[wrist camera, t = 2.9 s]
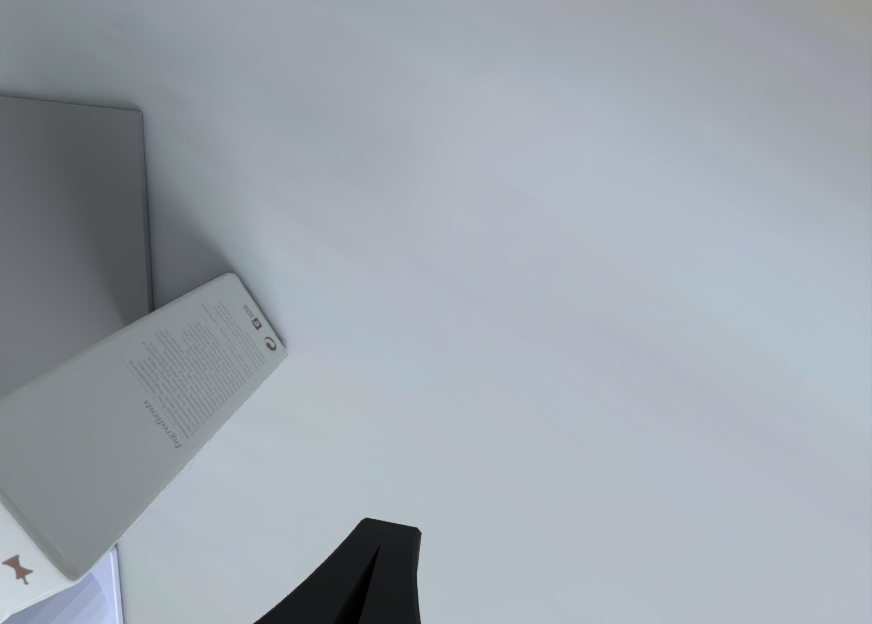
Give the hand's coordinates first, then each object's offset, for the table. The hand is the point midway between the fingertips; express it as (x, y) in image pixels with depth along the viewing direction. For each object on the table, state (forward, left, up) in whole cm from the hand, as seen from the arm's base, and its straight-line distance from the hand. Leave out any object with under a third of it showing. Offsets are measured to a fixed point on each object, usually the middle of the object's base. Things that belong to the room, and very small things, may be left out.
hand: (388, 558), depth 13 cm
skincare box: (-10, 0, -10) cm, 14 cm away
